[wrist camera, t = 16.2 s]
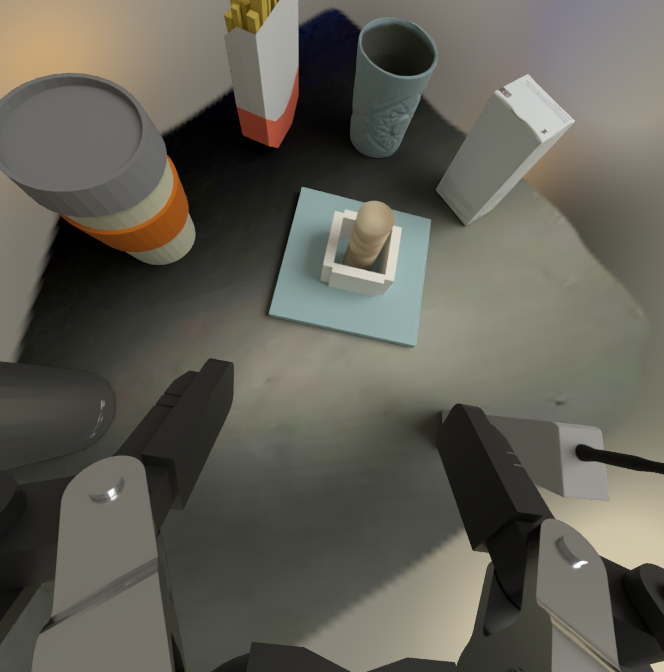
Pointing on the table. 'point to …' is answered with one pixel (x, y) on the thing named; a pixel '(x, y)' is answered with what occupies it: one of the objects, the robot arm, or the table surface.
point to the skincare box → (502, 147)
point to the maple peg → (368, 234)
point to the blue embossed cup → (389, 83)
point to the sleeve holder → (351, 273)
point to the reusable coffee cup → (96, 164)
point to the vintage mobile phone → (565, 456)
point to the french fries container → (264, 66)
